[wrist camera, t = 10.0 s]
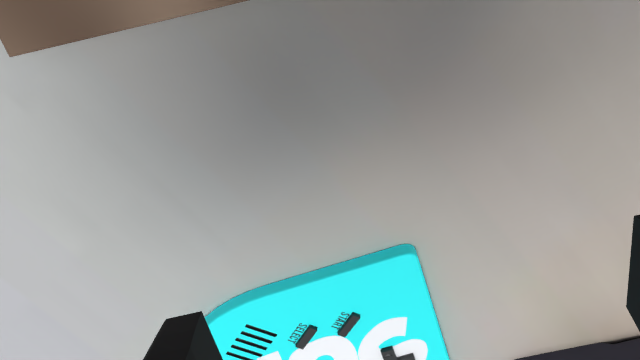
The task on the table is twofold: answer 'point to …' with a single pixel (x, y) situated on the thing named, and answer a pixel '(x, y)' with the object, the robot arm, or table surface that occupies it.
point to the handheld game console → (336, 314)
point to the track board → (84, 19)
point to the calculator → (594, 352)
